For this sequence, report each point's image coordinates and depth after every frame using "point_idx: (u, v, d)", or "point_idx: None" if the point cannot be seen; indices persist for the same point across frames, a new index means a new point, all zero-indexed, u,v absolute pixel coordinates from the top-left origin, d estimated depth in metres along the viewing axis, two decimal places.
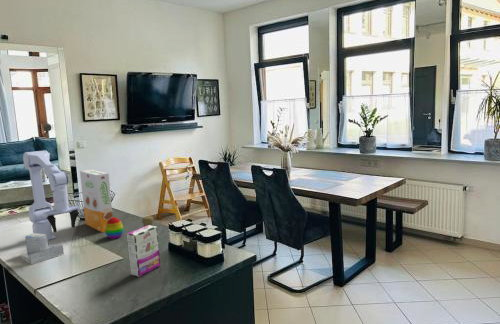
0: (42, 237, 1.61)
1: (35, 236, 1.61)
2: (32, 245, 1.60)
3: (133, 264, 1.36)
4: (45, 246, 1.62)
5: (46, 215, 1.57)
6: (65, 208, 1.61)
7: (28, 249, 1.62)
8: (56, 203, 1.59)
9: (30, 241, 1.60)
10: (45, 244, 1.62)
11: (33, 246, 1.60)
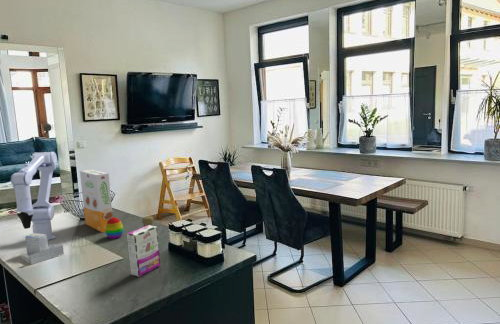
0: (42, 237, 1.61)
1: (35, 236, 1.61)
2: (32, 245, 1.60)
3: (133, 264, 1.36)
4: (45, 246, 1.62)
5: None
6: (18, 208, 1.63)
7: (28, 249, 1.62)
8: None
9: (30, 241, 1.60)
10: (45, 244, 1.62)
11: (33, 246, 1.60)
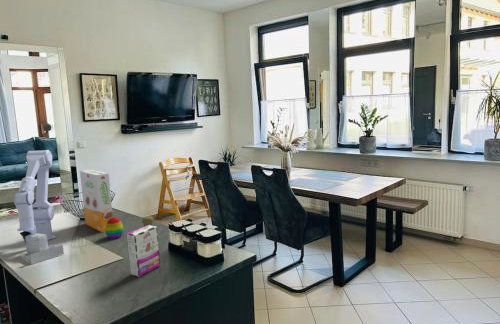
0: (42, 237, 1.61)
1: (35, 236, 1.61)
2: (32, 245, 1.60)
3: (133, 264, 1.36)
4: (45, 246, 1.62)
5: None
6: (21, 227, 1.65)
7: (28, 249, 1.62)
8: None
9: (30, 241, 1.60)
10: (45, 244, 1.62)
11: (33, 246, 1.60)
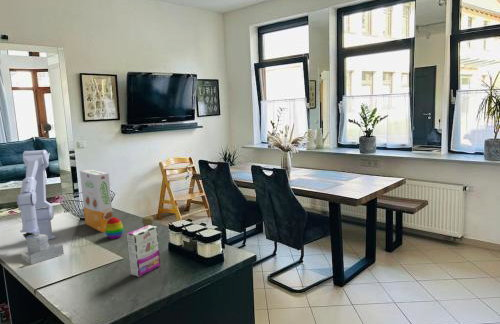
0: (43, 238, 1.60)
1: (36, 236, 1.60)
2: (33, 245, 1.59)
3: (133, 264, 1.36)
4: (46, 246, 1.61)
5: (22, 228, 1.69)
6: (24, 228, 1.62)
7: (29, 250, 1.61)
8: None
9: (31, 241, 1.60)
10: (46, 245, 1.61)
11: (34, 246, 1.59)
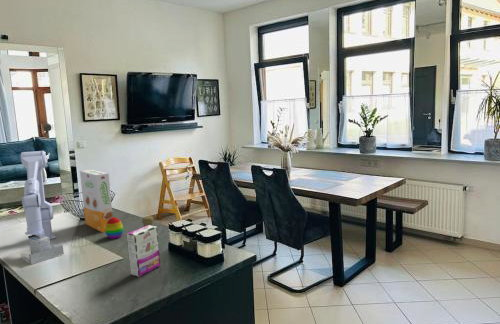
0: (44, 240, 1.57)
1: (38, 238, 1.57)
2: (35, 247, 1.57)
3: (133, 264, 1.36)
4: None
5: None
6: (28, 230, 1.59)
7: (32, 251, 1.59)
8: None
9: (33, 243, 1.57)
10: (48, 247, 1.58)
11: (36, 248, 1.57)
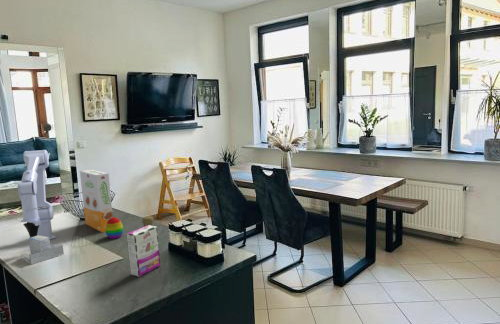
0: (44, 240, 1.57)
1: (38, 238, 1.57)
2: (35, 248, 1.57)
3: (133, 264, 1.36)
4: None
5: None
6: (24, 218, 1.60)
7: (31, 251, 1.59)
8: None
9: (33, 243, 1.57)
10: (48, 247, 1.58)
11: (36, 249, 1.57)
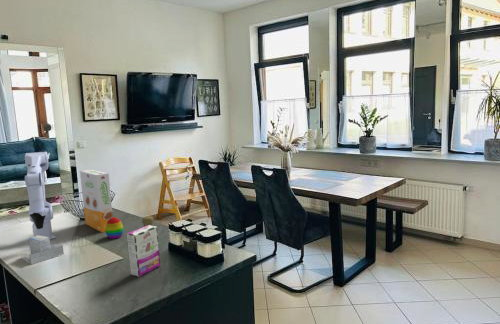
0: (44, 240, 1.57)
1: (38, 238, 1.57)
2: (35, 248, 1.57)
3: (133, 264, 1.36)
4: None
5: (29, 209, 1.71)
6: (31, 209, 1.65)
7: (31, 251, 1.59)
8: None
9: (33, 243, 1.57)
10: (48, 247, 1.58)
11: (36, 249, 1.57)
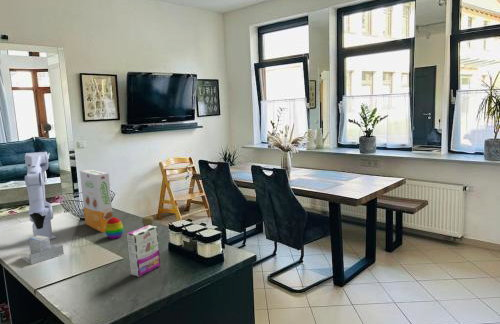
0: (44, 240, 1.57)
1: (38, 238, 1.57)
2: (35, 248, 1.57)
3: (133, 264, 1.36)
4: None
5: (29, 209, 1.71)
6: (31, 209, 1.65)
7: (31, 251, 1.59)
8: None
9: (33, 243, 1.57)
10: (48, 247, 1.58)
11: (36, 249, 1.57)
